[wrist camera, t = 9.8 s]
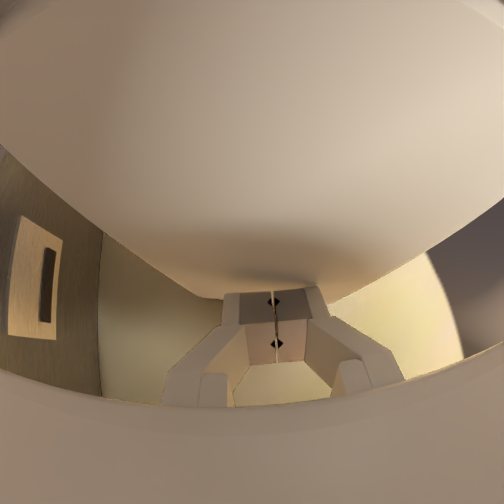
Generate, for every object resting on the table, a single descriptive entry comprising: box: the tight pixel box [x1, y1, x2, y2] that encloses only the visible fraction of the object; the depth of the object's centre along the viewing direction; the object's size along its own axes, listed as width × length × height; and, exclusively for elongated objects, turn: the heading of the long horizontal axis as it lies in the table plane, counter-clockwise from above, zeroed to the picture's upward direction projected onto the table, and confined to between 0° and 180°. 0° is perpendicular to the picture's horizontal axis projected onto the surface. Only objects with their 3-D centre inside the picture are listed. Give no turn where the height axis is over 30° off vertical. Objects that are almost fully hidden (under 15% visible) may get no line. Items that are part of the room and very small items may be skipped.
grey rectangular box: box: [0, 144, 103, 397], centre depth 9 cm, size 22×6×10 cm, turn 4°
